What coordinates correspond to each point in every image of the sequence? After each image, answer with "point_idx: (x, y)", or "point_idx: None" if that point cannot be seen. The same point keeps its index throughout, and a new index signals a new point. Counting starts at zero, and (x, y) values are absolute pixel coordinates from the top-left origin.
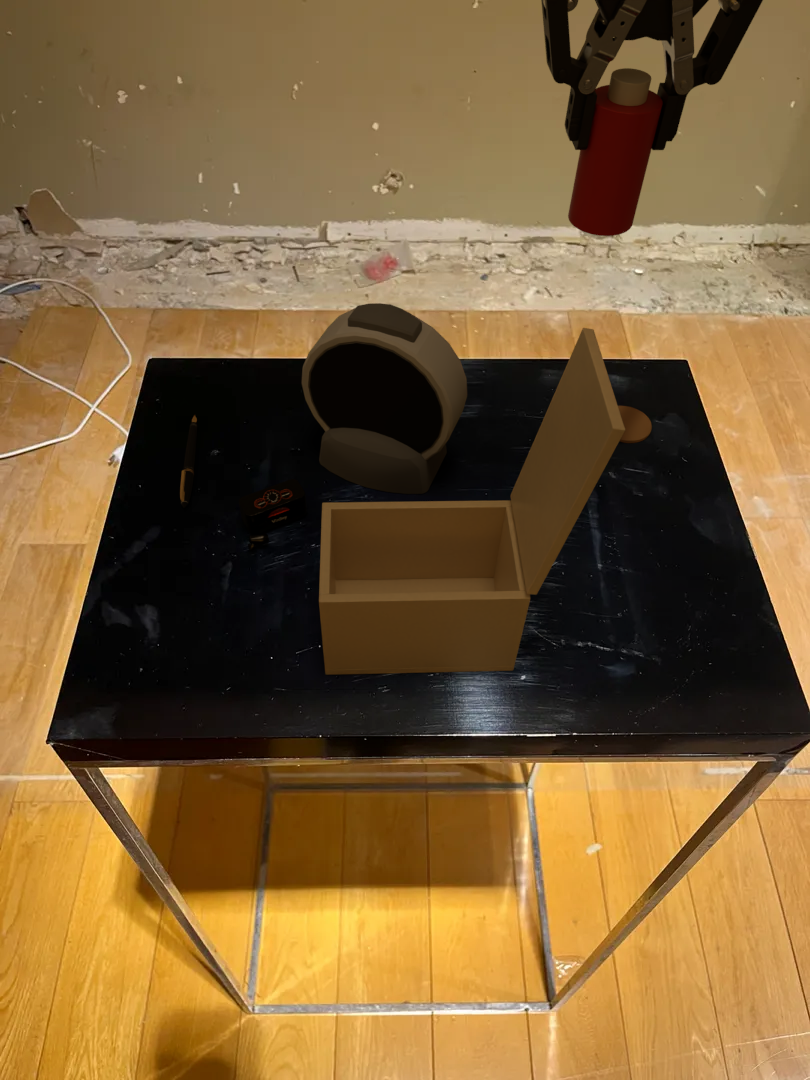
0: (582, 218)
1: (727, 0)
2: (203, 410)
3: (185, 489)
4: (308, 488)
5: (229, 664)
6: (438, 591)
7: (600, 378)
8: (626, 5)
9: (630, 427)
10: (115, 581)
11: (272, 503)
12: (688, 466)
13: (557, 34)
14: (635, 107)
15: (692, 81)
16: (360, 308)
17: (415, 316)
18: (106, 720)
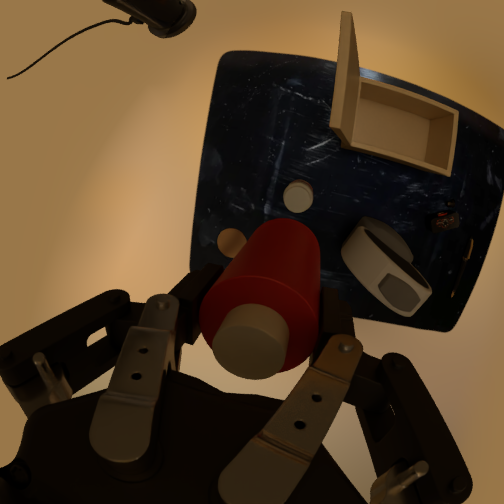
0: (315, 241)
1: (52, 382)
2: (445, 302)
3: (470, 246)
4: (419, 235)
5: (466, 139)
6: (376, 143)
7: (346, 59)
8: (300, 461)
9: (230, 239)
10: (497, 201)
11: (446, 218)
12: (208, 204)
13: (429, 418)
14: (254, 298)
15: (148, 301)
16: (411, 308)
17: (378, 297)
18: (501, 133)
